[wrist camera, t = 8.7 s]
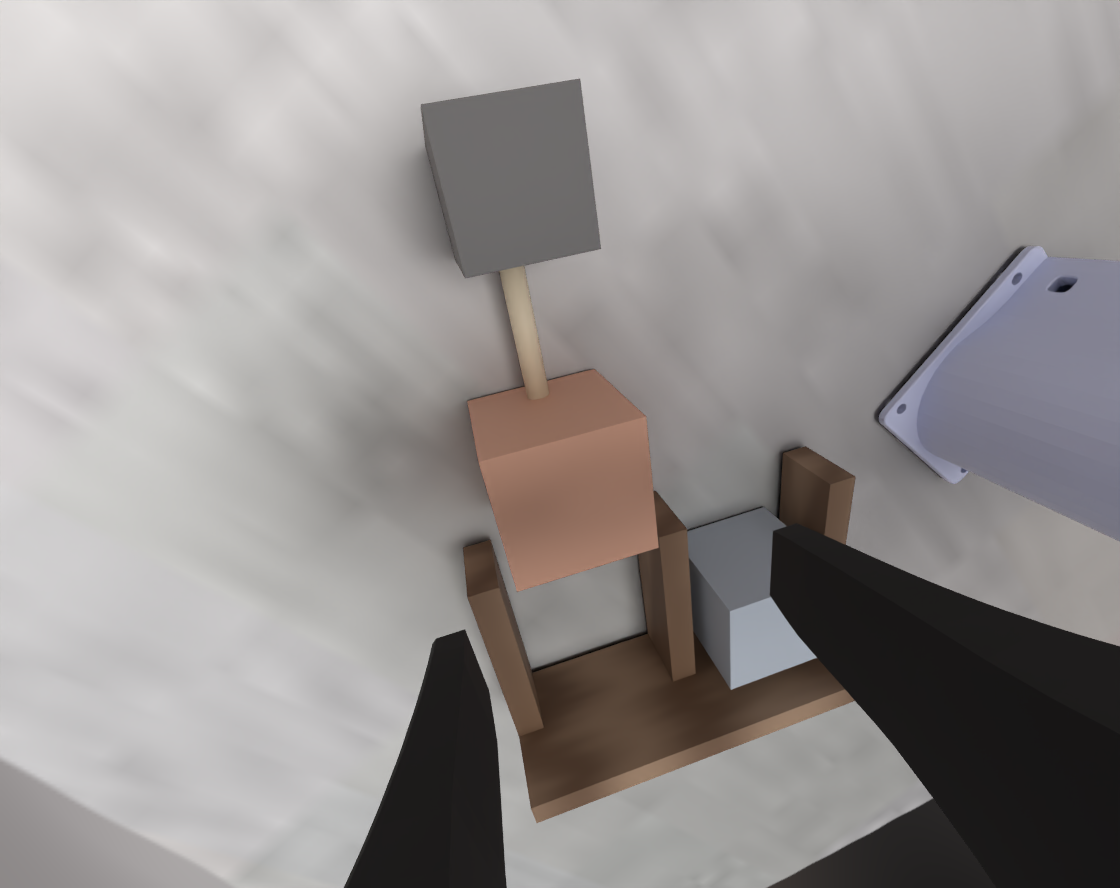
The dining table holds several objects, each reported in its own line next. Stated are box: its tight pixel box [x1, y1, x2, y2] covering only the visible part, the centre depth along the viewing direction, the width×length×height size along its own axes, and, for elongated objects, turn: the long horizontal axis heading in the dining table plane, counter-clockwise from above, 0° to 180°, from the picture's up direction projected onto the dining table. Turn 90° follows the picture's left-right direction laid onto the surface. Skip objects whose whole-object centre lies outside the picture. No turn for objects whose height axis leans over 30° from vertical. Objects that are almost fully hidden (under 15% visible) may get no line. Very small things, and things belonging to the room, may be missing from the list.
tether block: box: [421, 79, 659, 592], centre depth 14 cm, size 5×13×6 cm, turn 11°
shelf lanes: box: [463, 446, 855, 823], centre depth 21 cm, size 17×10×6 cm, turn 101°
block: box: [687, 507, 817, 690], centre depth 22 cm, size 5×5×5 cm
